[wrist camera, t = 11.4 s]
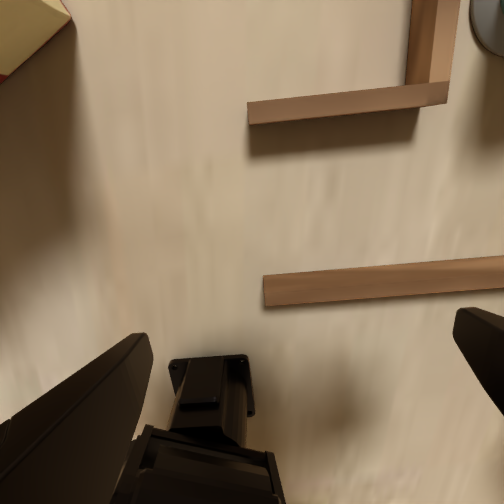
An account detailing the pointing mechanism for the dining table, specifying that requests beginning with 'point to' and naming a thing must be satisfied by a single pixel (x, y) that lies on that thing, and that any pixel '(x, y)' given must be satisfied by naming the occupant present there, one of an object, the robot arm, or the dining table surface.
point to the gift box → (27, 29)
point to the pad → (489, 24)
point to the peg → (502, 5)
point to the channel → (376, 100)
